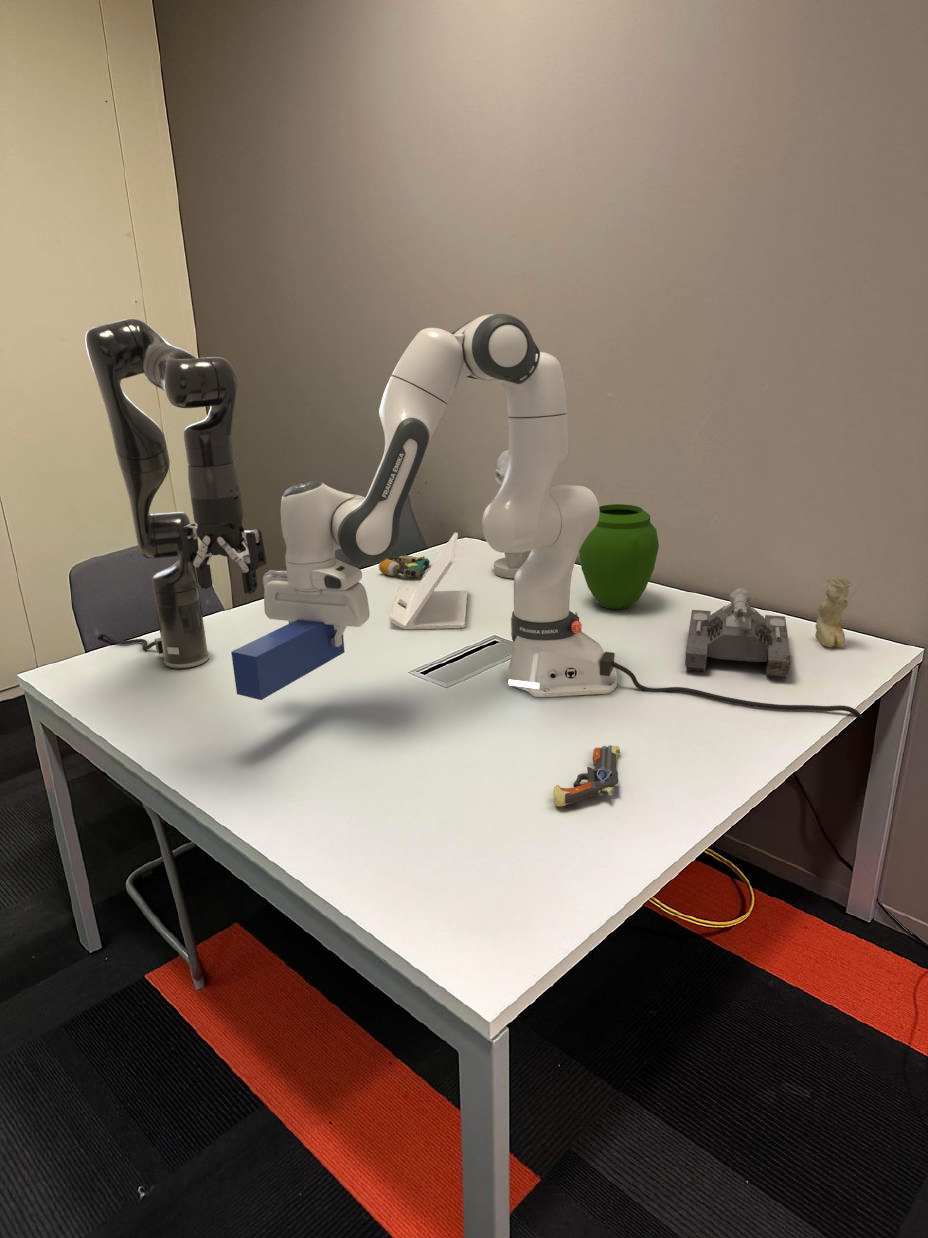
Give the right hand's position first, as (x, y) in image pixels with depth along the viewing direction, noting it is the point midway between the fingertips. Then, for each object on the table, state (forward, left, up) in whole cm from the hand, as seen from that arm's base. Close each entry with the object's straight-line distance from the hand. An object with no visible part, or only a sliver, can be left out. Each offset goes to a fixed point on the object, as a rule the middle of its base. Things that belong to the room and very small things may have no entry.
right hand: (319, 643), depth 159 cm
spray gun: (+1, -89, -14) cm, 90 cm away
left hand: (+9, +17, +16) cm, 25 cm away
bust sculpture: (-33, -86, -14) cm, 93 cm away
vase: (-58, -62, -14) cm, 86 cm away
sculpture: (-102, -39, -14) cm, 111 cm away
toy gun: (-49, +21, -14) cm, 56 cm away
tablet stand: (-11, -56, -14) cm, 59 cm away
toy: (-81, -32, -14) cm, 89 cm away
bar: (+3, +7, -3) cm, 8 cm away
